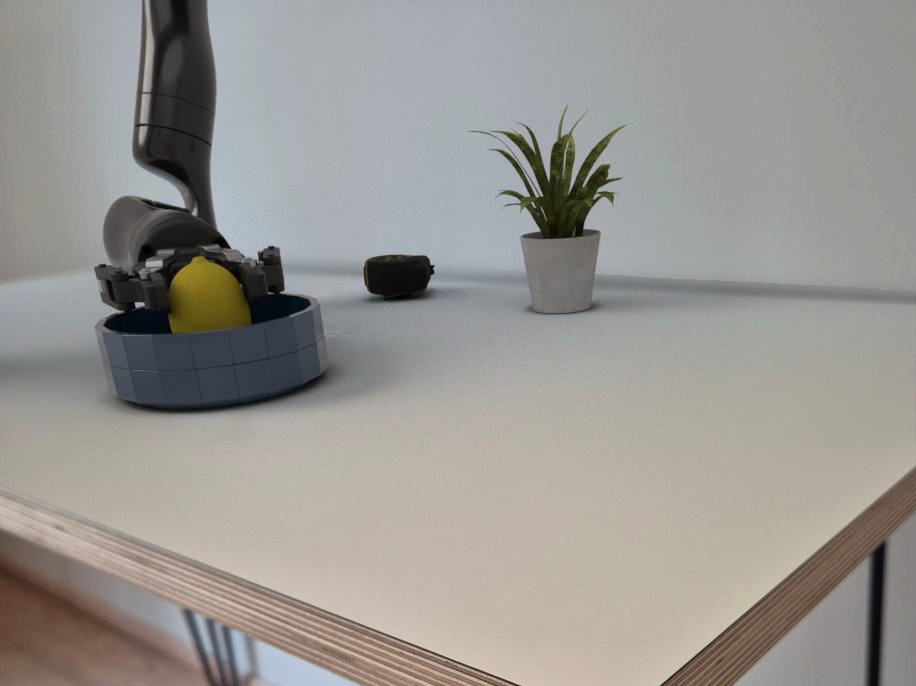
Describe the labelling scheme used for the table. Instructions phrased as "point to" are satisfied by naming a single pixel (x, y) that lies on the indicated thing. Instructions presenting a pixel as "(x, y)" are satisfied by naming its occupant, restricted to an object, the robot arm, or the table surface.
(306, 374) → the bowl
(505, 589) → the table surface
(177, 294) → the lemon
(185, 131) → the robot arm
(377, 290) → the tape measure
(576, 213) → the house plant
